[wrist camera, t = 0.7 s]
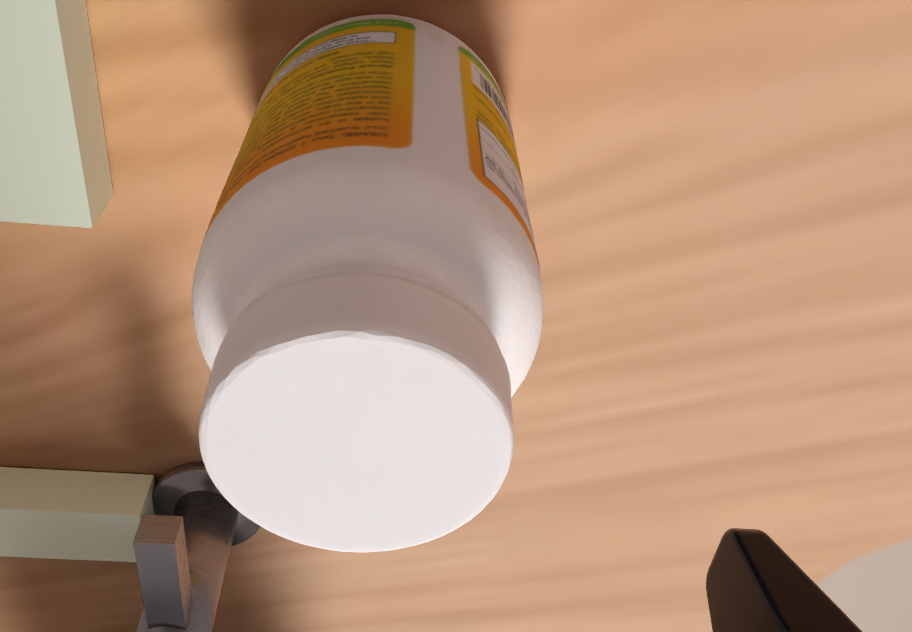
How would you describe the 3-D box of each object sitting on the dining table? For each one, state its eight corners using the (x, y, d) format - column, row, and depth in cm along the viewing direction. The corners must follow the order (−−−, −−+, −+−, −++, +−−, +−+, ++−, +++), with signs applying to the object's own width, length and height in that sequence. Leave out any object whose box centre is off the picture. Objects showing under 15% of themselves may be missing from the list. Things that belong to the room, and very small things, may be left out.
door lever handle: (266, 539, 26) (236, 693, 22) (158, 534, 26) (109, 689, 22) (260, 402, 23) (225, 554, 19) (138, 395, 23) (76, 547, 19)
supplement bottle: (227, 187, 19) (91, 527, 11) (312, -41, 17) (207, 202, 9) (444, 272, 21) (455, 625, 13) (555, 76, 18) (655, 375, 10)
